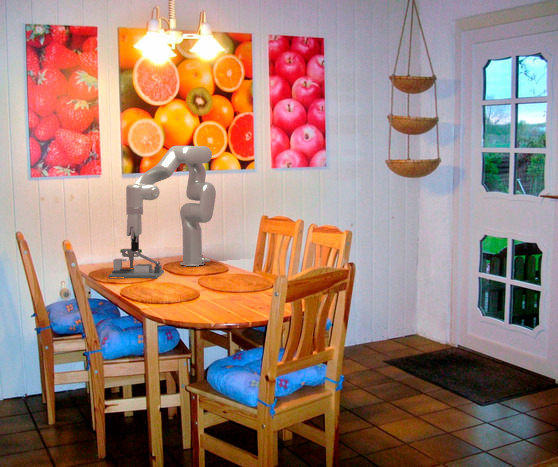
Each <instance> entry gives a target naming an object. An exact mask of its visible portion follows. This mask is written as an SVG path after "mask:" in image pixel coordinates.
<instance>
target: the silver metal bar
mask: <svg viewBox="0 0 558 467" xmlns="http://www.w3.org/2000/svg"><path fill="white" fill-rule="evenodd" d="M130 252H132V253H134V255H138V257H140V258H142V259H144V260H146V261H147V262H151V264H152V263H153V264H154V265H155V266H158V265H161V262H160V261H156V260H155V259H152V258H150V257H148V256H146V255H144V254H142V253H141V254H140V253H138V252H137V251H131V250H130Z"/></svg>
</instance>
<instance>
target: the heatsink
mask: <svg viewBox="0 0 558 467" xmlns="http://www.w3.org/2000/svg"><path fill="white" fill-rule="evenodd" d="M133 269H134V274H149V273H150V272H152V269H153V264H152V263H136V264H135V265H133Z"/></svg>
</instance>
